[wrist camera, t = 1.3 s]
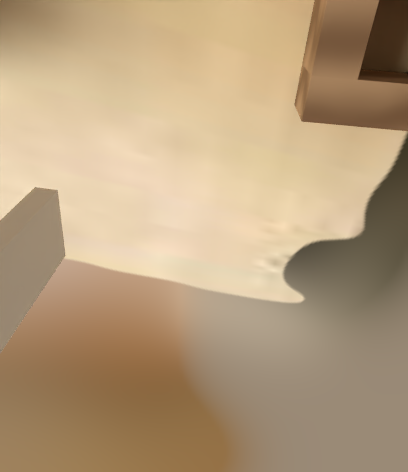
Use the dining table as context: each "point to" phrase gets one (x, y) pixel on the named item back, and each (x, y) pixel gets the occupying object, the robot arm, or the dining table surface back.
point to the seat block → (347, 71)
